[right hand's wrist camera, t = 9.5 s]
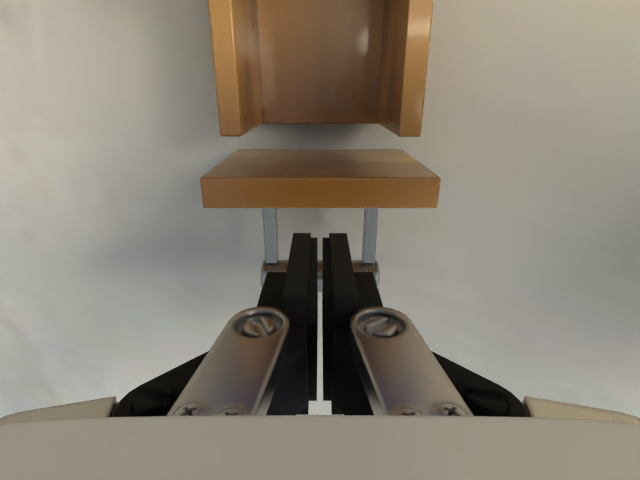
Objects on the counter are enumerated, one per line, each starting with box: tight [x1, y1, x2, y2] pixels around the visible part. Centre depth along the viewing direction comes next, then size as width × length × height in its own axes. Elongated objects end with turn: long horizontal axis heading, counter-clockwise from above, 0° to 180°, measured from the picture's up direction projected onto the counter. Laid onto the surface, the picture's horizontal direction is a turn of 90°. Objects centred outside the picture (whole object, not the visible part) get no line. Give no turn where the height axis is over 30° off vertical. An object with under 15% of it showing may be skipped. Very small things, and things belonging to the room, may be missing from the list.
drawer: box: [200, 0, 440, 292], centre depth 15 cm, size 26×9×7 cm, turn 0°
